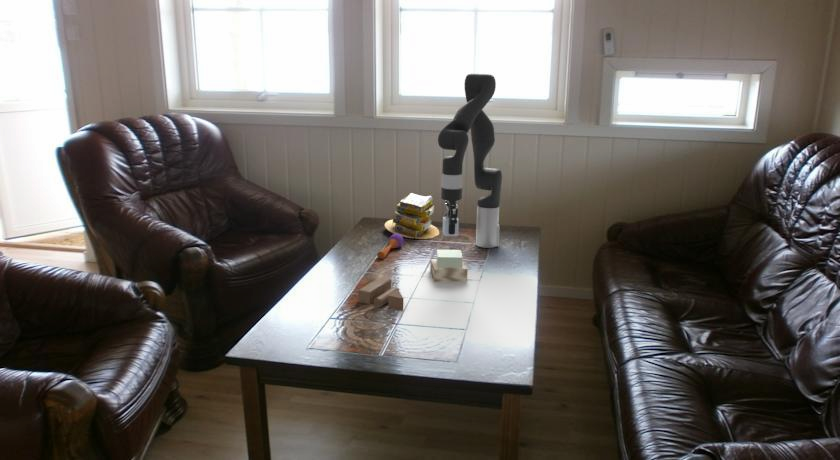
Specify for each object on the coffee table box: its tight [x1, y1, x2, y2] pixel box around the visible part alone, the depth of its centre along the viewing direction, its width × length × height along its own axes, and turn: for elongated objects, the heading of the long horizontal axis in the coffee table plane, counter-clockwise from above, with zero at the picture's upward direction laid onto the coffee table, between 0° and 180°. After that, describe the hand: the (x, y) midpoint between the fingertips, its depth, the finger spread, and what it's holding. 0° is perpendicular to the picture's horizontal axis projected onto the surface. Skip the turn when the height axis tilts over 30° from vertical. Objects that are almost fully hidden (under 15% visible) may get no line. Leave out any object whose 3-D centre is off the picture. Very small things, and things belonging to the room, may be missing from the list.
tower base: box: [429, 258, 468, 283], centre depth 243 cm, size 12×12×5 cm
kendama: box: [376, 233, 404, 260], centre depth 270 cm, size 6×6×20 cm
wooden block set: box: [357, 275, 404, 312], centre depth 220 cm, size 17×6×18 cm
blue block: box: [442, 216, 460, 237], centre depth 238 cm, size 5×5×6 cm
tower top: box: [436, 249, 464, 268], centre depth 242 cm, size 9×9×4 cm
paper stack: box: [384, 192, 440, 240], centre depth 297 cm, size 25×25×17 cm
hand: (450, 231), depth 239 cm, fingers closed on blue block, 5 cm apart
